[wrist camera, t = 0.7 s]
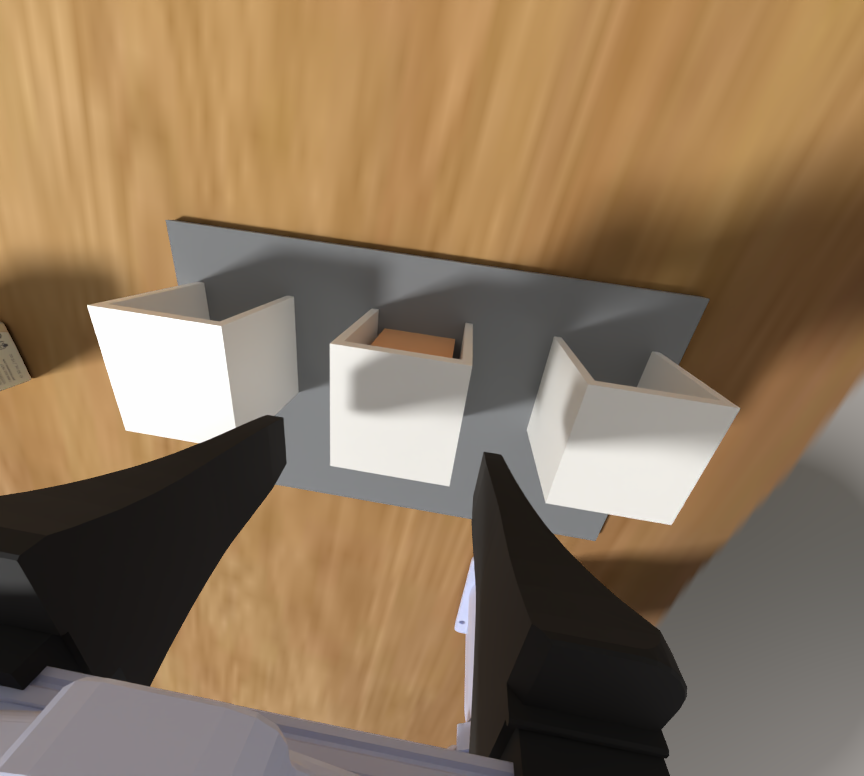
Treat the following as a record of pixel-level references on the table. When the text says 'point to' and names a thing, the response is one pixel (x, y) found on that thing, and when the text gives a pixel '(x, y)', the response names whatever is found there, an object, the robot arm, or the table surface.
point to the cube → (415, 342)
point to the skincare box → (10, 362)
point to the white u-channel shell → (395, 405)
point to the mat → (444, 317)
